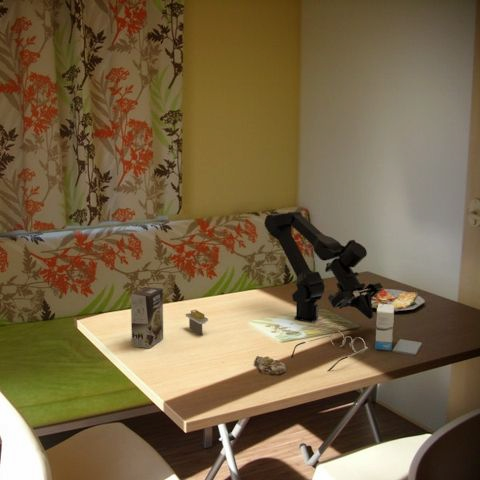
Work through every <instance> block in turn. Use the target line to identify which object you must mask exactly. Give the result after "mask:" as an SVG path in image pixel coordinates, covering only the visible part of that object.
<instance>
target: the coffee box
mask: <svg viewBox="0 0 480 480" xmlns="http://www.w3.org/2000/svg"><path fill="white" fill-rule="evenodd" d="M163 291H164V288H160V287H152V286H151V287H148V286H144V287H142V288H140V289H138V290H136V291H134V292H132V293H130V307H131V308H130V313H131V314H130V315H131V316H130V317H131V318H130V319H131V321H130V323H131V346H132V347H136V348H143V349H152V348H153V347H154V346H156V345H157V344H159V343H160V342H161V341H162V340H164V292H163Z"/></svg>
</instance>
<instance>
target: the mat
mask: <svg viewBox="0 0 480 480" xmlns="http://www.w3.org/2000/svg"><path fill="white" fill-rule="evenodd" d="M422 345H423V342H419V341H415V340H414V341H413V340H407V339H399V340H398V341H397V342H396V344H395V346H394V347H393V348H392V353H397V354H402V355H403V354H404V355H411V356H417V353H418V352H419V350H420V348H421V347H422Z"/></svg>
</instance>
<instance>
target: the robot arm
mask: <svg viewBox="0 0 480 480" xmlns="http://www.w3.org/2000/svg"><path fill="white" fill-rule="evenodd" d="M264 227H265V229H266V231H267V232H268V233H269V235H271V236H272V237H273V238H275V240H277V241H278V243H279V244H280V247H281V248H282V250H283V253H284V254H285V256H286V258H287V260H288V262H289V263H290V266H291V267H292V270H293V271H294V272H293V273H294V274H295V276H296V283H295V285H296V288H297V289H296V290H295V292H293V293H292V294H291V296H292V301H293V302H295V303H296V306H295V307H296V309H295V310H296V313H295V314H296V315H295V316H294V318H293V319H294V320H298V321H305V322H310V321H311V323H312V321H313V322H314V321H316V320H317V318H319V311H320V310H319V306H320V305H319V304H318V301H319V300H320V301H321V300H322V297H323V295H324V292H325V287H326V286H325V284H324V282H325V281H324V279H323V278H322V276H321V274H320V272H319V271H312V270H311V268H310V266H309V264H308V263H307V261H306V259H305V257H304V255H303V253H302V252H301V250H300V248H299V246H298V243H297V242H296V241H295V237H294V236H293V233H292V228H294V230H296V231H297V232H298V234H300V235H301V236H302V237H303V238H304V239H305V240H306V241H307V242H309V243H310V244H311V246H312V249H313V252H314V253H315V254H316V256H317V257H318V258H319V259H320V260H321V261H324V262H325V261H329V260H330V261H331V260H332V261H331V262H327V263H326V264H325V265H326V267H325V270H324V272H325V273H328V272H331V273H332V274H333V276H334V278H335V280H336V281H337V283H336V287H337V289H338V291H336V292H335V293H332V294H329V295H328V297H327V299H328V301H329V303H330V304H331V306H332V308H333V309H337V308H339V310H340V309H343V308H348V307H353V308H355V309H357V310H358V311H359V312H361V314H362V315H363V316H365V317H366V318H368V319H369V320H371V319H373V318H374V315H373V314H374V312H373V308H372V300H371V298H372V297H374V296H375V295H376V294H377V293H378V292H379V291H381V290H382V289H384V287H383V285H382V283H381V282H378V281H374V282H371V283H369V284H368V285H366V284H365V282H363V283H361V281H360V279H359V277H358V276H359V275H360V274H359V273H358V272H354V270H353V268H355V267H357V265H358V264H360V262H361V261H363V260H364V259H365V258H366V257H367V255H368V252H367V249H366V247H365V246H363V245H362V244H360V243H359V242H356V240H355V239H350V240H348V241H347V243H346V245H343V244H341V243H340V241H338V240H336V239H335V238H334V237H332V236H329V235H325V234H324V233H322V232H321V231H320V230H319V229H318V228H317V227H316V226H315V225H314V224H312V222H310V221H309V219H307V218H306V217H305V216H304V215H303V214H302V212H300V211H299V210H295V211H288V212H287V213H286V212H285V213H284V212H278V213H272V214H268V215H266V217H265V220H264ZM359 293H360V294H359Z"/></svg>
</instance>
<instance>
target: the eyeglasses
mask: <svg viewBox="0 0 480 480" xmlns="http://www.w3.org/2000/svg"><path fill="white" fill-rule="evenodd" d="M335 332H336V330H334V331H332V333H331V334H330V335H329V334H328V335H323V336H320V337H317V338H314V339H311V340H308V341H302V342H299V343H297V344H295V346H294V348H293V351H292V354H291V357H290V358H291V359H293V357H294V354H295V351H296V349H297V347H298V346H300V345H304V344H306V343H309V342H313V341H317V340H321V339H324V338H330V342H331V344H332V345H333V346H335V344H334V343H333V340H332V335H333V333H335ZM337 332H338V333H340V334H341V335H342V336H343V340H342V343H341V345H339V346H338V347H340V348H341V347H344V346H345V344H346V341H347V339H346V338H350V340H351V341H350V342H349V347H350V348H352V349H351V350H352V351H353V352H354V353H351V354H350V355H348V356H347V355H346V356H344V357H343V358H340V359H338V360H337V361H336V362H335V363H334V364H333V365H332V366H331V367H329V369H328V370H327V372H330V371H332V370H333V368H335V366H336V365H337V364H338V363H339V362H340V361H341V362H342V361H343V360H345V359H348V358H349V357H352V356H354V355H357V354H359V355H362V354H363V353H364V352H365V351H366V350H369V347H367V346H366V342H365V341H364V339H363V338H361V337H359V336H358V337H355V338H354V339H353V338H352V337H351V336H345V335H344V334H343V332H341V331H340V330H337ZM356 339H361V341H362V342H363V344H364V348H363V349H361V350H359V351H357V350H356V349H355V347H354V341H355V340H356Z"/></svg>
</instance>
